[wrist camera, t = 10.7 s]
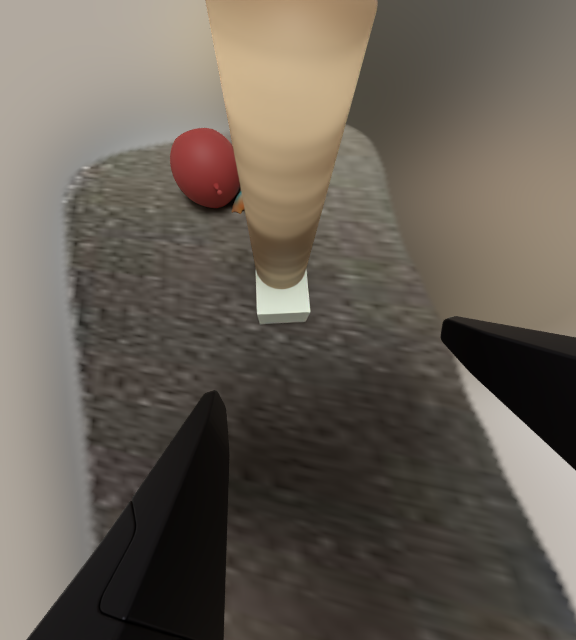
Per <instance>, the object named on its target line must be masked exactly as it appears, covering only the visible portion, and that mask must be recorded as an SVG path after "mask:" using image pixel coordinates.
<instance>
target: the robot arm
mask: <svg viewBox="0 0 576 640" xmlns="http://www.w3.org/2000/svg"><path fill="white" fill-rule="evenodd" d="M441 340H442V342H443V343H444V344H445V345H446V346H447V348H448V349H449V350H450V351H451V352H452V353H453V354H454V355H455V356H456V358H457V359H458V360H459V361H460V362H461V363H462V364H463V365H464V366H465V368H466V369H467V370H468V371H469V372H470V373H471V374H472V375H473V376H474V377H475V378H477V380H479V381H480V382H481V383H482V384H483V385H484V386H485V387H486V388H487V389H488V390H489V391H491V392H492V393H493V394H494V395H495V396H496V397H497V398H498V399H499V400H500V401H501V402H502V403H503V404H504V405H506V406H507V407H508V408H509V409H510V410H511V411H512V412H513V413H514V414H515V415H516V416H517V417H519V418H520V419H521V420H522V421H523V422H524V423H525V424H526V425H527V426H528V427H529V428H530V429H531V430H533V431H534V432H535V433H536V434H537V435H538V436H539V437H540V438H541V439H542V440H543V441H544V442H546V443H547V444H548V445H549V446H550V447H551V448H552V449H553V450H554V451H555V452H556V453H557V454H559V455H560V456H561V457H562V458H563V459H564V460H565V461H566V462H567V463H568V464H569V465H571V466H572V467H573V468H574V469H575V470H576V337H570V336H565V335H559V334H553V333H547V332H542V331H536V330H530V329H525V328H519V327H514V326H508V325H503V324H497V323H491V322H485V321H480V320H475V319H469V318H463V317H458V316H454V317H450V318H447V319H445V320H444V321H443V324H442V330H441ZM228 483H229V441H228V428H227V415H226V408H225V405H224V403H223V401H222V399H221V397H220V395H219V393H218V392H217V391H215V390H214V391H211V392H207V393H205V394H204V395H203V396H202V398H201V399H200V401H199V402H198V404H197V405H196V406H195V408H194V409H193V411H192V412H191V414H190V415H189V417H188V418H187V419H186V421H185V422H184V424H183V425H182V427H181V428H180V430H179V431H178V432H177V434H176V435H175V437H174V438H173V440H172V441H171V443H170V444H169V445H168V447H167V448H166V450H165V451H164V453H163V454H162V456H161V457H160V459H159V460H158V461H157V463H156V464H155V466H154V467H153V469H152V470H151V472H150V473H149V474H148V476H147V477H146V479H145V480H144V482H143V483H142V485H141V486H140V487H139V489H138V490H137V492H136V493H135V495H134V496H133V498H132V501H130V502H129V503H128V505H127V506H126V508H125V509H124V510H123V512H122V513H121V515H120V516H119V518H118V519H117V520H116V522H115V523H114V525H113V526H112V527H111V529H110V530H109V532H108V533H107V534H106V536H105V537H104V539H103V540H102V541H101V543H100V544H99V546H98V547H97V548H96V550H95V551H94V552H93V554H92V555H91V556H90V558H89V559H88V560H87V562H86V563H85V564H84V566H83V567H82V568H81V569H80V571H79V572H78V574H77V575H76V576H75V578H74V579H73V580H72V581H71V583H70V584H69V585H68V586H67V588H66V589H65V590H64V592H63V593H62V594H61V596H60V597H59V598H58V599H57V601H56V602H55V603H54V605H53V606H52V607H51V608H50V610H49V611H48V612H47V614H46V615H45V616H44V618H43V619H42V620H41V621H40V623H39V624H38V625H37V627H36V628H35V630H34V631H33V632H32V633H31V634H30V636H29V637H28V639H27V640H224V609H225V577H226V546H227V515H228Z"/></svg>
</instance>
